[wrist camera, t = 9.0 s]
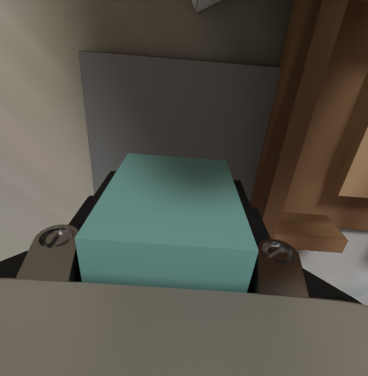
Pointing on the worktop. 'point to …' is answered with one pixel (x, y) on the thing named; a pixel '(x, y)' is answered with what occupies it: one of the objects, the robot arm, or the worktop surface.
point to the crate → (318, 129)
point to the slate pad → (176, 111)
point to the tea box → (203, 4)
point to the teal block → (168, 227)
